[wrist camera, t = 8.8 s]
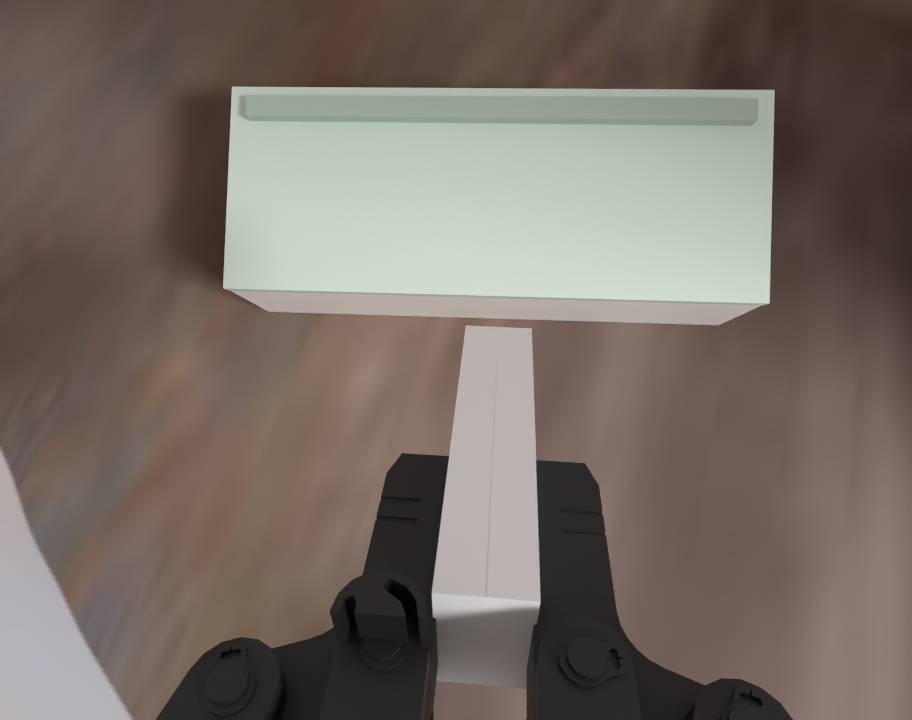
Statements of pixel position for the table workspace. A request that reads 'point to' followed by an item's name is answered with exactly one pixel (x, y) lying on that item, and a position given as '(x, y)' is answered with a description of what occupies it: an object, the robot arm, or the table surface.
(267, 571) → the table surface
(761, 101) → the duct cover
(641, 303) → the cable duct
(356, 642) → the robot arm
